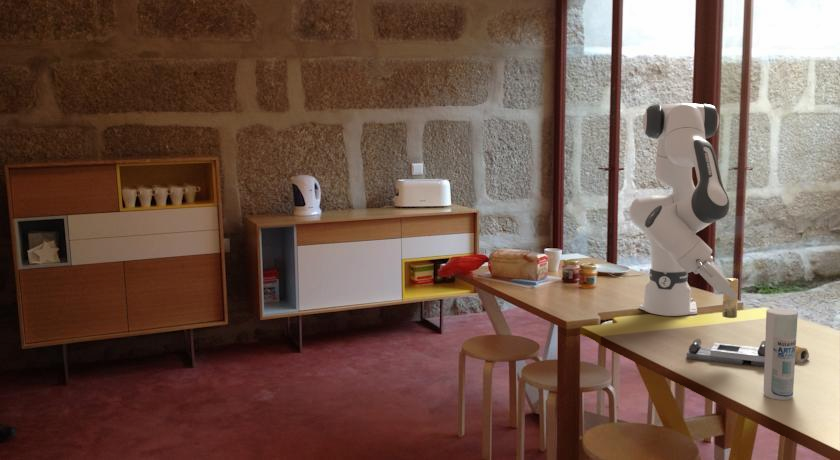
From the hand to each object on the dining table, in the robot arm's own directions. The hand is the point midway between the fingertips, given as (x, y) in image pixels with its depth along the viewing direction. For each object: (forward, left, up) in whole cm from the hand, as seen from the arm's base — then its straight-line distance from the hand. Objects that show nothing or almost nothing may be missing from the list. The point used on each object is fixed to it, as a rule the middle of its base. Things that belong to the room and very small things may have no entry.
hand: (733, 294), depth 207 cm
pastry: (-8, +14, -18) cm, 24 cm away
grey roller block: (0, -1, -18) cm, 18 cm away
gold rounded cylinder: (0, -1, -6) cm, 6 cm away
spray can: (+24, +13, -18) cm, 33 cm away
